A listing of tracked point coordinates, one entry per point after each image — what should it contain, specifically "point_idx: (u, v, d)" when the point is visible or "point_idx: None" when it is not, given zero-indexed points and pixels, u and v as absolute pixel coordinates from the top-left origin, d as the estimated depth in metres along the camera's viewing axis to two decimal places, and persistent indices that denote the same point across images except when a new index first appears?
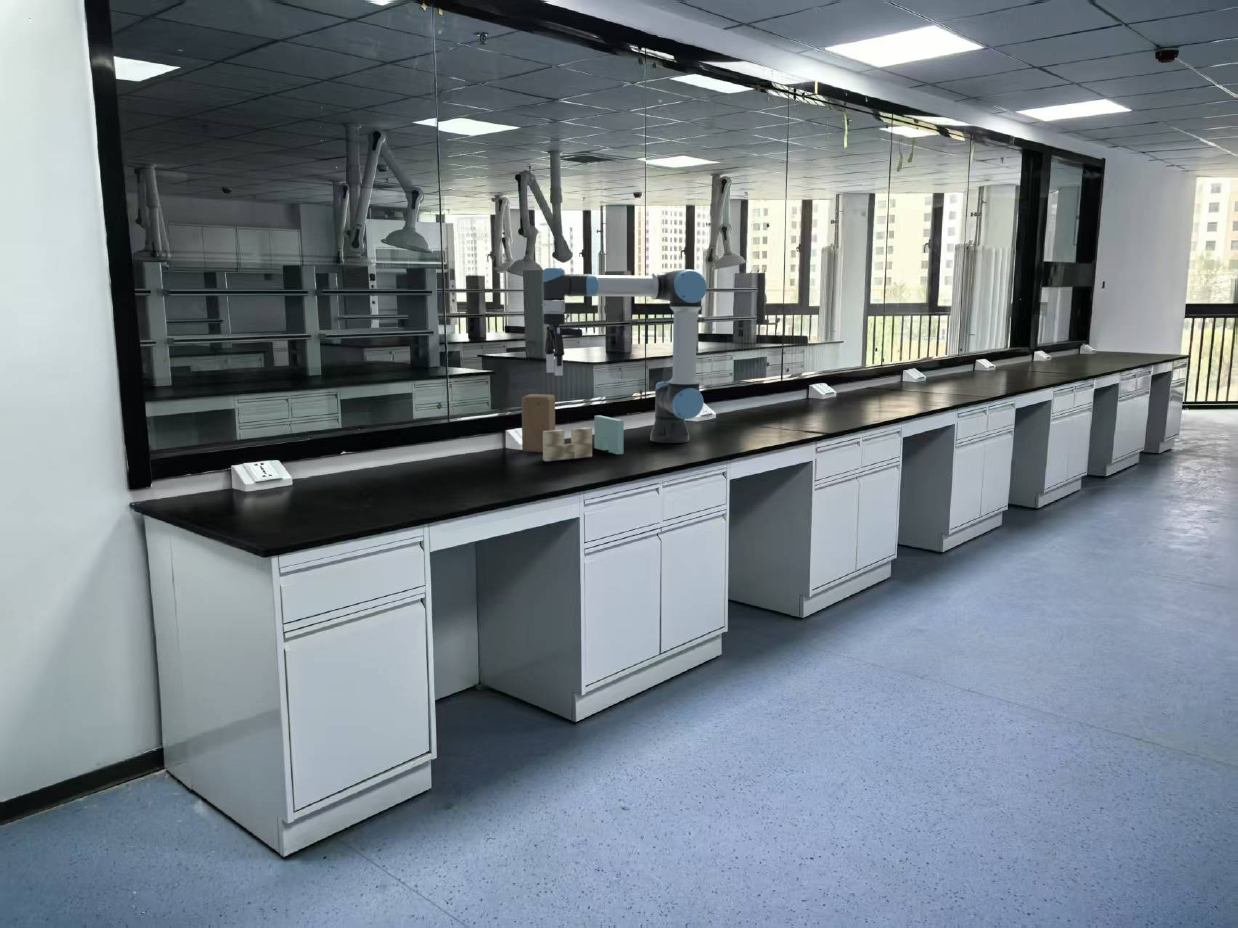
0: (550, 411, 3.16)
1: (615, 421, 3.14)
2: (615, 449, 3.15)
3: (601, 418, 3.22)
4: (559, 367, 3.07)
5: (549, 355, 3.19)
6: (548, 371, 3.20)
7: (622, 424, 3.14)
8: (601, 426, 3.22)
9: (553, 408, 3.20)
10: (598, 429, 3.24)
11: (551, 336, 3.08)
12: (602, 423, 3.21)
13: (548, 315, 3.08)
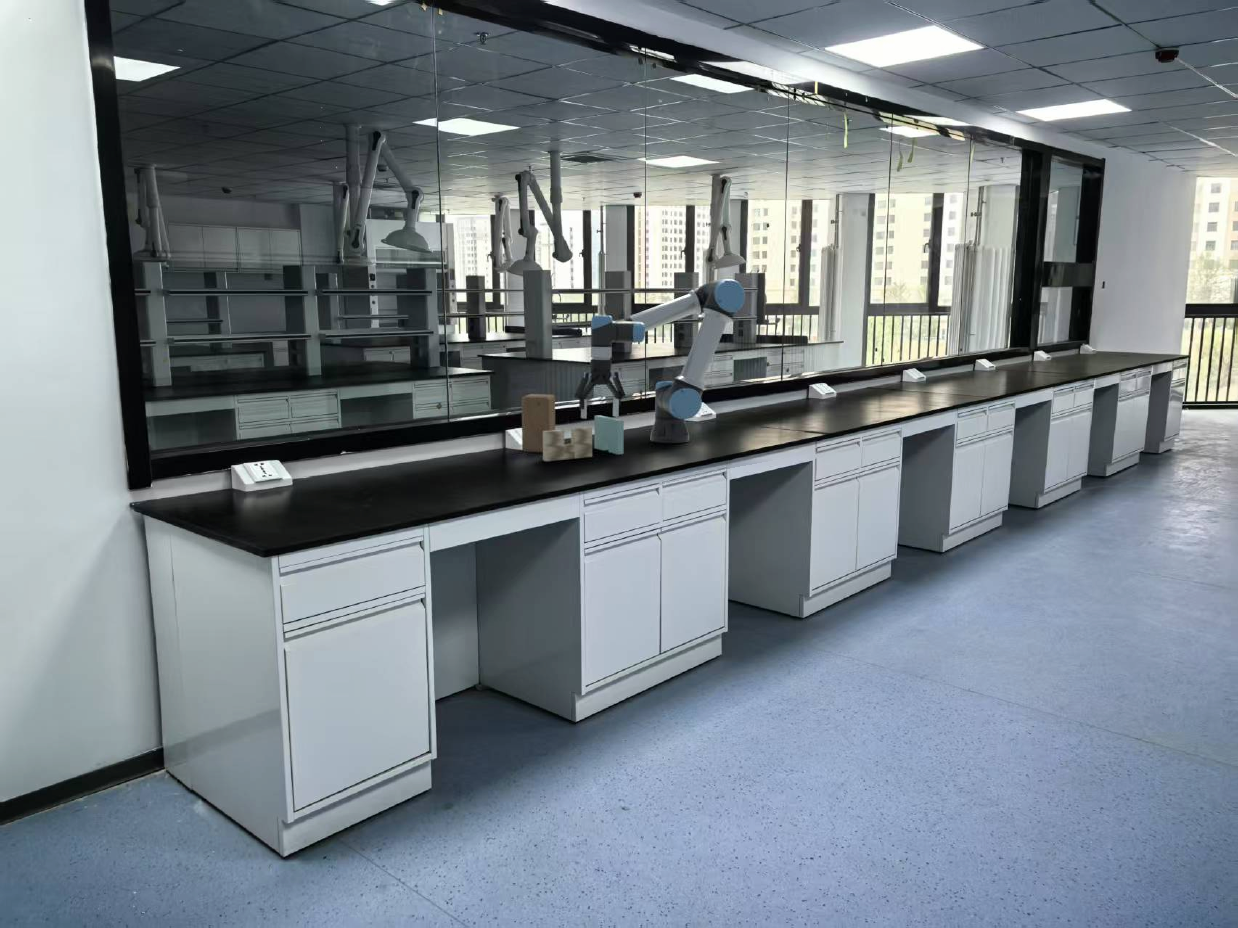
0: (550, 411, 3.16)
1: (615, 421, 3.14)
2: (615, 449, 3.15)
3: (601, 418, 3.22)
4: (583, 410, 3.20)
5: (614, 399, 3.27)
6: (613, 415, 3.28)
7: (622, 424, 3.14)
8: (601, 425, 3.22)
9: (553, 408, 3.20)
10: (598, 429, 3.24)
11: (590, 380, 3.21)
12: (602, 422, 3.21)
13: None
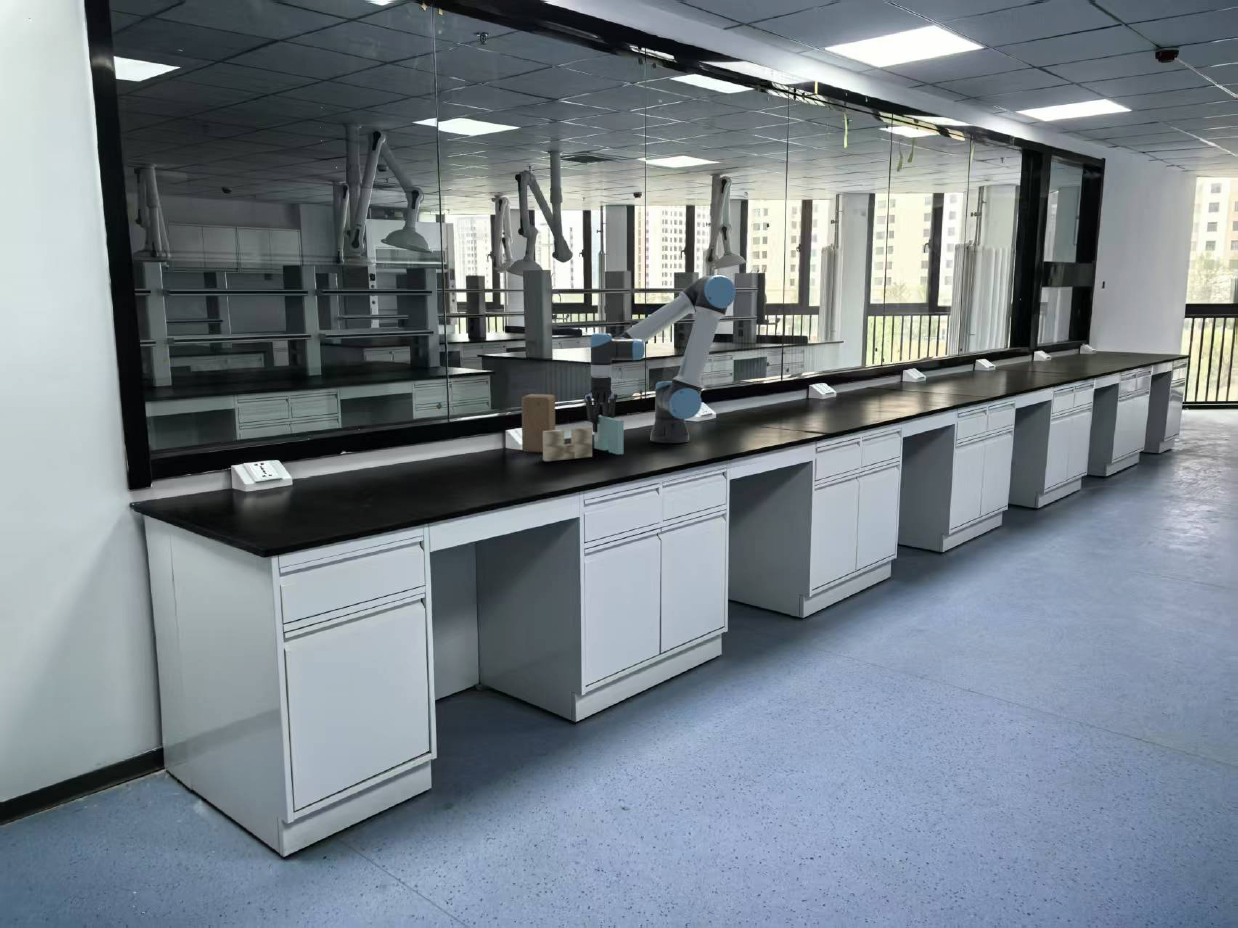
0: (550, 411, 3.16)
1: (615, 421, 3.14)
2: (615, 449, 3.15)
3: (601, 418, 3.22)
4: (596, 433, 3.24)
5: None
6: None
7: (622, 424, 3.14)
8: (601, 426, 3.22)
9: (553, 408, 3.20)
10: None
11: (593, 400, 3.23)
12: (602, 422, 3.21)
13: None
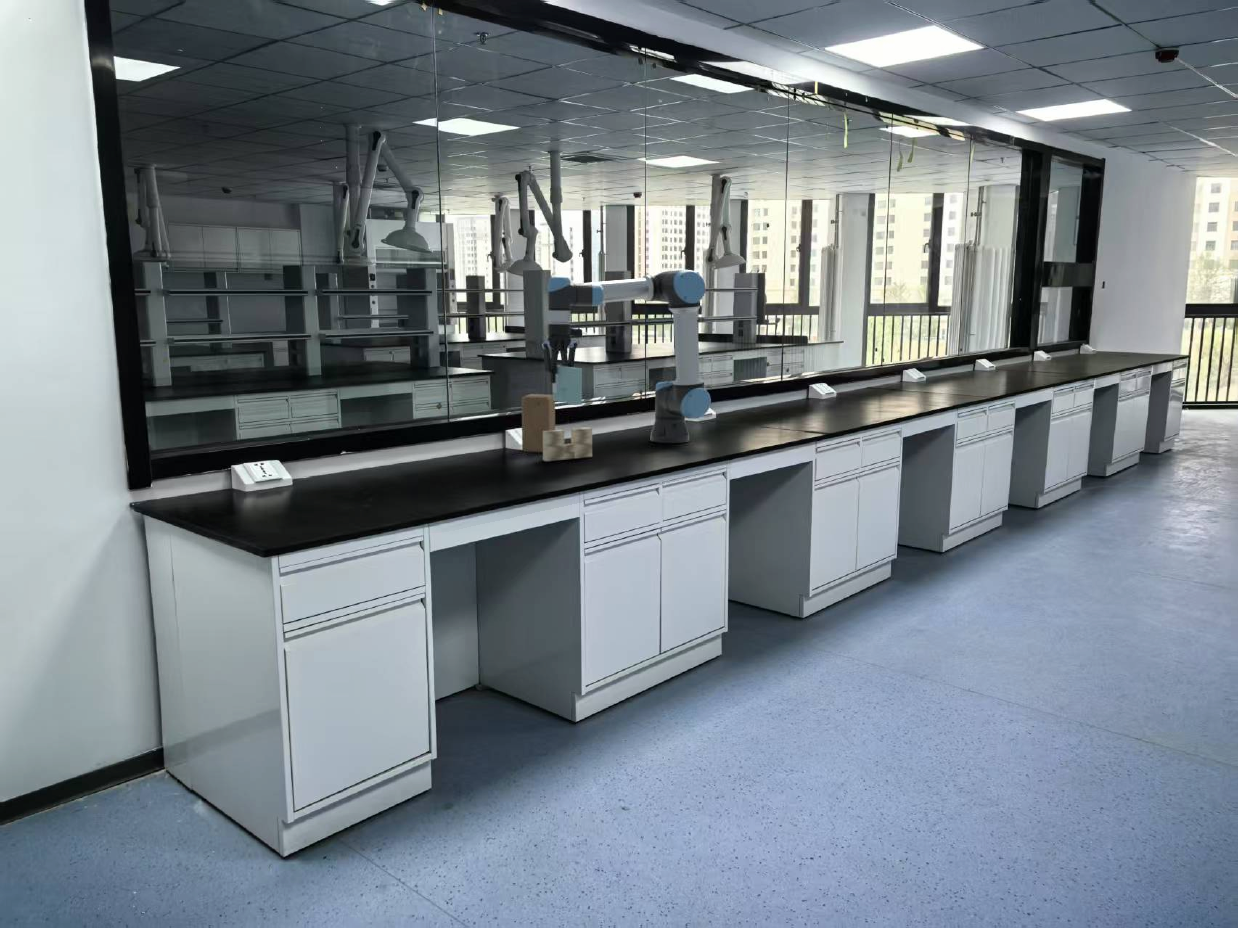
0: (550, 411, 3.16)
1: (573, 369, 2.94)
2: (573, 399, 2.96)
3: (559, 367, 3.02)
4: (554, 384, 3.05)
5: None
6: None
7: (580, 372, 2.94)
8: (559, 375, 3.03)
9: (553, 408, 3.20)
10: None
11: (551, 349, 3.04)
12: (560, 372, 3.02)
13: None
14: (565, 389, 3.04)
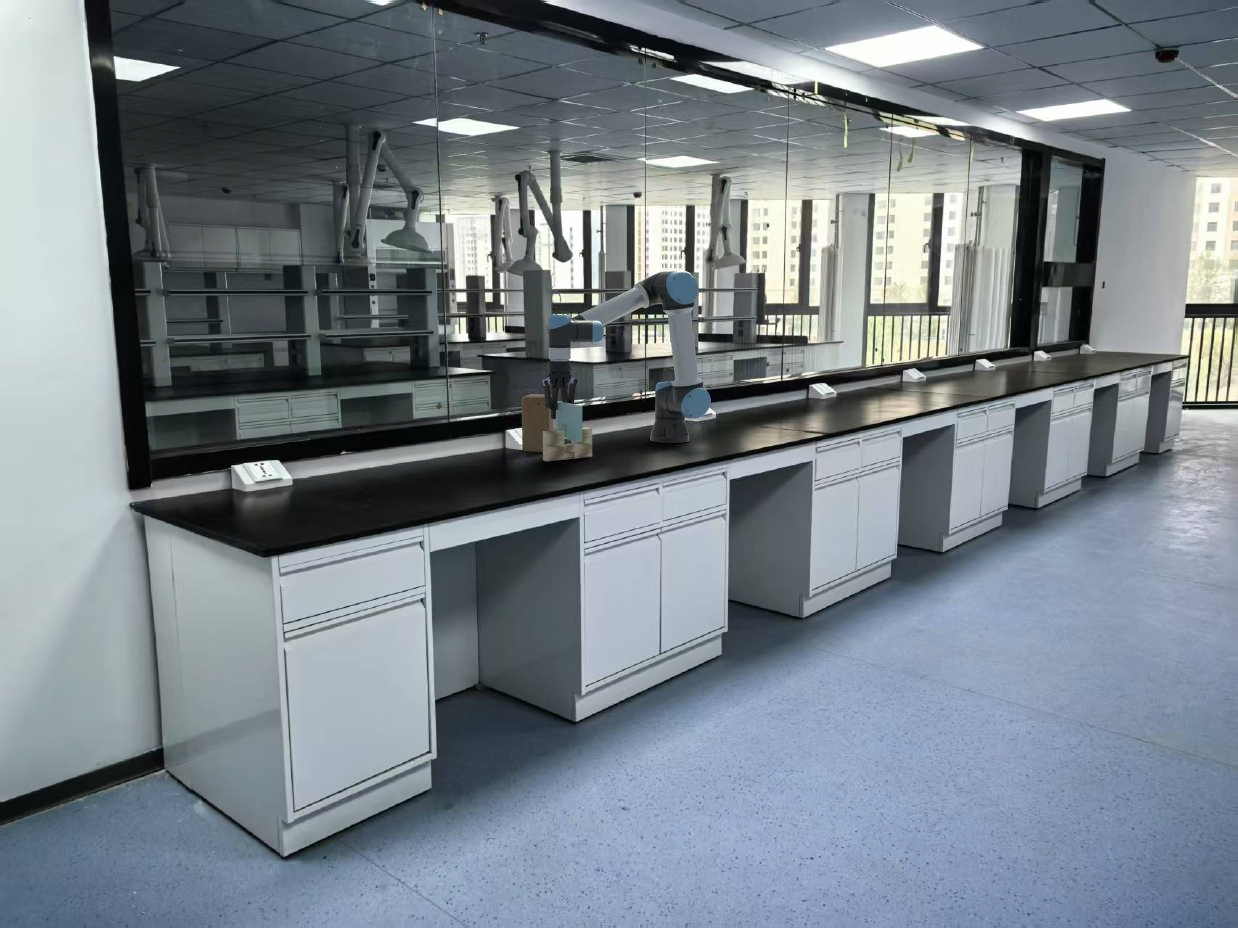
0: (550, 411, 3.16)
1: (573, 407, 2.97)
2: (573, 436, 2.98)
3: (559, 404, 3.05)
4: (555, 420, 3.07)
5: None
6: None
7: (581, 410, 2.97)
8: (559, 412, 3.05)
9: None
10: None
11: (552, 385, 3.06)
12: (561, 409, 3.04)
13: None
14: (565, 425, 3.06)
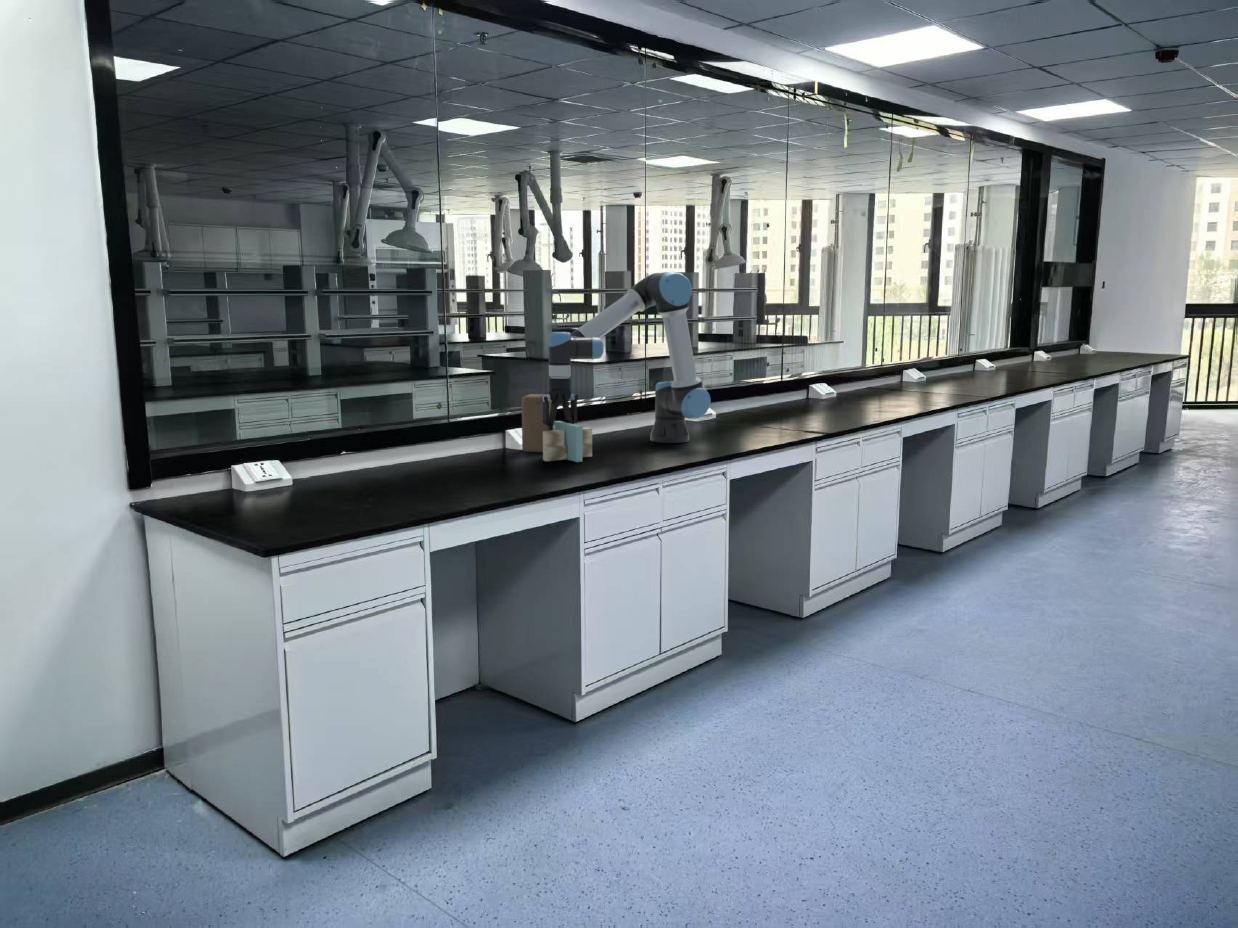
0: None
1: (574, 427, 2.98)
2: (574, 456, 3.00)
3: (560, 424, 3.06)
4: None
5: None
6: None
7: (581, 430, 2.98)
8: None
9: None
10: None
11: (551, 402, 3.07)
12: (561, 428, 3.06)
13: None
14: None
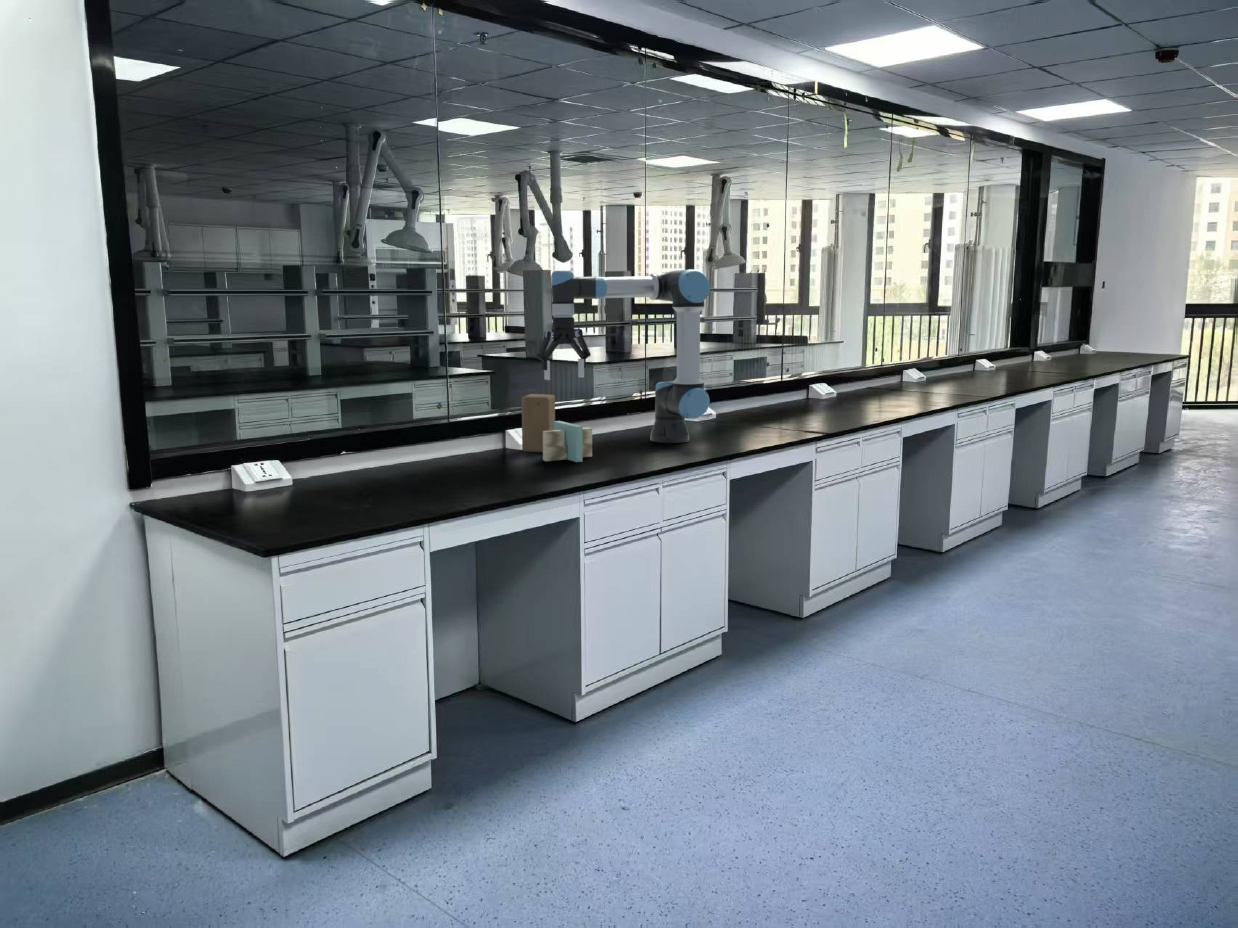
0: (550, 411, 3.16)
1: (573, 427, 2.98)
2: (574, 456, 3.00)
3: (560, 424, 3.06)
4: (546, 371, 3.04)
5: (579, 360, 3.11)
6: (579, 376, 3.13)
7: (581, 430, 2.98)
8: None
9: (553, 408, 3.20)
10: None
11: (553, 340, 3.06)
12: (561, 428, 3.06)
13: None
14: None
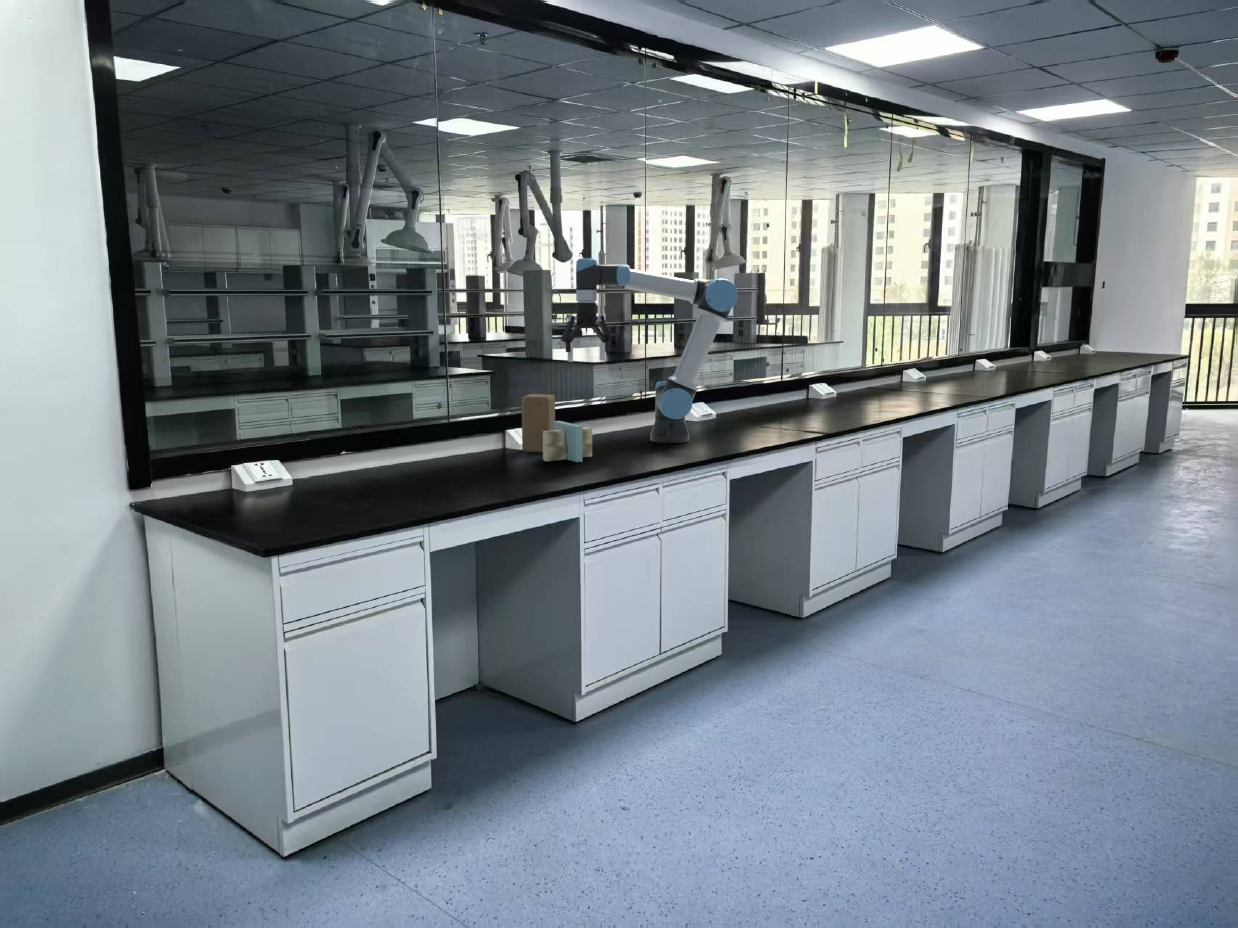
0: (550, 411, 3.16)
1: (573, 427, 2.98)
2: (574, 456, 3.00)
3: (560, 424, 3.06)
4: (569, 353, 3.21)
5: (600, 343, 3.28)
6: (600, 359, 3.30)
7: (581, 430, 2.98)
8: None
9: (553, 408, 3.20)
10: None
11: (576, 324, 3.23)
12: (561, 428, 3.06)
13: None
14: None
